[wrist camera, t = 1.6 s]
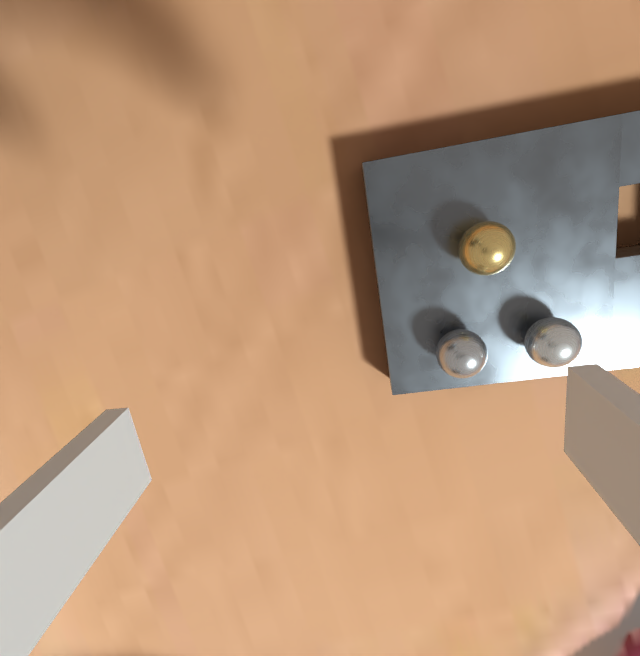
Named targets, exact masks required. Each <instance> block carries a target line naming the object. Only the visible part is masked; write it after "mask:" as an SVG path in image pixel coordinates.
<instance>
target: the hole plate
mask: <svg viewBox="0 0 640 656" xmlns="http://www.w3.org/2000/svg"><path fill="white" fill-rule="evenodd" d="M362 172H363V179H364V187H365V195H366V202H367V210H368V218H369V225H370V233H371V240H372V248H373V256H374V263H375V271H376V279H377V286H378V294H379V302H380V309H381V317H382V325H383V332H384V340H385V347H386V355H387V363H388V370H389V378H390V383H391V389H392V394H393V395H397V394H406V393H415V392H424V391H433V390H441V389H450V388H459V387H468V386H476V385H485V384H494V383H503V382H512V381H520V380H529V379H538V378H547V377H556V376H564V375H567V371H568V367H569V366H580V365H590V364H598V365H599V366H601V367H602V368H604V369H605V370H606V371H608V370H617V369H626V368H635V367H640V245H635V246H629V247H622V248H616V239H617V219H618V199H619V187H620V186H626V185H632V184H638V183H640V111H634V112H629V113H624V114H618V115H613V116H608V117H602V118H597V119H592V120H587V121H581V122H576V123H571V124H565V125H560V126H555V127H549V128H544V129H539V130H534V131H528V132H523V133H518V134H512V135H507V136H502V137H496V138H491V139H486V140H480V141H475V142H470V143H465V144H459V145H454V146H449V147H443V148H438V149H433V150H427V151H422V152H417V153H412V154H406V155H401V156H396V157H390V158H385V159H380V160H374V161H369V162H364V163H362ZM484 221H494V222H498V223H501V224H503V225H504V226H506V227H507V228H508V229H509V230H510V231H511V232H512V234H513V236H514V238H515V242H516V251H515V255H514V257H513V260H512V261H511V263H510V264H509V265H508V266H507V267H506V268H505V269H504V270H502V271H500V272H498V273H496V274H493V275H487V276H484V275H477V274H474V273H472V272H470V271H469V270H467V269H466V268H465V267H464V265H463V264H462V263H461V261H460V258H459V253H458V247H459V242H460V240H461V238H462V236H463V234H464V233H465V232H466V231H467V230H468V229H469V228H470V227H472V226H473V225H475V224H477V223H480V222H484ZM549 317H557V318H562V319H565V320H567V321H569V322H571V323H572V324H573V325H574V326H575V327H576V328H577V329H578V330H579V332H580V334H581V337H582V348H581V351H580V353H579V355H578V356H577V358H576V359H575V360H574V361H573V362H571V363H569V364H568V365H565V366H562V367H555V368H551V367H545V366H542V365H540V364H538V363H536V362H535V361H534V360H532V359H531V358H530V356H529V355H528V353H527V351H526V349H525V344H524V339H525V335H526V333H527V331H528V329H529V328H530V327H531V326H532V325H533V324H534V323H535V322H537V321H539V320H541V319H544V318H549ZM457 329H465V330H469V331H472V332H474V333H476V334H477V335H479V336H480V337H481V338H482V339H483V341H484V343H485V344H486V347H487V352H488V357H487V361H486V364H485V366H484V367H483V369H482V370H481V371H480V372H479V373H478V374H476V375H474V376H472V377H469V378H456V377H453V376H450V375H448V374H447V373H446V372H444V371H443V370H442V369H441V367H440V366H439V364H438V362H437V359H436V348H437V345H438V343H439V341H440V339H441V338H442V337H443V336H444V335H445V334H447V333H448V332H450V331H453V330H457Z"/></svg>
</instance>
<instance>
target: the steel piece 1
mask: <svg viewBox="0 0 640 656" xmlns="http://www.w3.org/2000/svg"><path fill="white" fill-rule="evenodd" d="M487 357H488V352H487V347H486V344H485V343H484V341H483V339H482V338H481V337H480V336H479V335H477V334H476V333H474V332H472V331H469V330H465V329H457V330H453V331H450V332H448V333H447V334H445V335H444V336H443V337H442V338H441V339H440V341H439V343H438V345H437V348H436V359H437V362H438V364H439V366H440V367H441V369H442V370H443V371H444V372H446V373H447V374H448V375H450V376H453V377H456V378H469V377H472V376H474V375H476V374H478V373H479V372H480V371H481V370H482V369H483V367H484V366H485V364H486V361H487Z"/></svg>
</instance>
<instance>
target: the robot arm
mask: <svg viewBox="0 0 640 656" xmlns="http://www.w3.org/2000/svg"><path fill="white" fill-rule="evenodd" d="M564 452H565V453H566V454H567V456H568V457H569V458H570V459H571V461H572V462H573V463H574V464H575V466H576V467H577V468H578V469H579V471H580V472H581V473H582V474H583V476H584V477H585V478H586V479H587V481H588V482H589V483H590V484H591V486H592V487H593V488H594V489H595V491H596V492H597V493H598V494H599V496H600V497H601V498H602V499H603V501H604V502H605V503H606V504H607V506H608V507H609V508H610V509H611V511H612V512H613V513H614V514H615V516H616V517H617V518H618V519H619V521H620V522H621V523H622V524H623V526H624V527H625V528H626V529H627V531H628V532H629V533H630V534H631V536H632V537H633V538H634V539H635V541H636V542H637V543H638V544H639V546H640V394H638V393H637V392H636V391H634V390H633V389H631V388H630V387H629V386H627V385H626V384H625V383H623V382H622V381H620V380H619V379H618V378H616V377H615V376H613V375H612V374H611V373H609V372H608V371H606V370H605V369H604V368H602V367H601V366H599V365H598V364H590V365H580V366H569V367H568V371H567V393H566V415H565V437H564ZM151 480H152V479H151V476H150V473H149V470H148V466H147V463H146V460H145V457H144V454H143V451H142V448H141V445H140V442H139V439H138V436H137V433H136V430H135V426H134V423H133V420H132V417H131V414H130V411H129V408H119V409H109V410H105V411H104V412H103V413H102V414H101V415H100V416H98V417H97V418H96V419H95V420H94V421H93V422H92V423H91V424H89V425H88V426H87V427H86V428H85V429H84V430H83V431H81V432H80V433H79V434H78V435H77V436H76V437H75V438H74V439H72V440H71V441H70V442H69V443H68V444H67V445H66V446H64V447H63V448H62V449H61V450H60V451H59V452H58V453H57V454H55V455H54V456H53V457H52V458H51V459H50V460H49V461H47V462H46V463H45V464H44V465H43V466H42V467H41V468H40V469H38V470H37V471H36V472H35V473H34V474H33V475H32V476H30V477H29V478H28V479H27V480H26V481H25V482H24V483H23V484H21V485H20V486H19V487H18V488H17V489H16V490H15V491H13V492H12V493H11V494H10V495H9V496H8V497H7V498H6V499H4V500H3V501H2V502H1V503H0V656H28V655H29V654H30V653H31V651H32V650H33V648H34V647H35V645H36V644H37V643H38V641H39V640H40V638H41V637H42V635H43V634H44V633H45V631H46V630H47V628H48V627H49V625H50V624H51V623H52V621H53V620H54V618H55V617H56V616H57V614H58V613H59V611H60V610H61V608H62V607H63V606H64V604H65V603H66V601H67V600H68V598H69V597H70V596H71V594H72V593H73V591H74V590H75V588H76V587H77V586H78V584H79V583H80V581H81V580H82V578H83V577H84V576H85V574H86V573H87V571H88V570H89V569H90V567H91V566H92V564H93V563H94V561H95V560H96V559H97V557H98V556H99V554H100V553H101V551H102V550H103V549H104V547H105V546H106V544H107V543H108V541H109V540H110V539H111V537H112V536H113V534H114V533H115V531H116V530H117V529H118V527H119V526H120V524H121V523H122V521H123V520H124V519H125V517H126V516H127V514H128V513H129V512H130V510H131V509H132V507H133V506H134V504H135V503H136V502H137V500H138V499H139V497H140V496H141V494H142V493H143V492H144V490H145V489H146V487H147V486H148V484H149V483H150V482H151Z"/></svg>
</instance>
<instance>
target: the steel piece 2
mask: <svg viewBox="0 0 640 656" xmlns="http://www.w3.org/2000/svg"><path fill="white" fill-rule="evenodd" d="M524 344H525V349H526V351H527V353H528V355H529V356H530V358H531V359H532V360H534V361H535V362H536V363H538V364H540V365H542V366H545V367H551V368H555V367H562V366H565V365H568V364H569V363H571V362H573V361H574V360H575V359H576V358H577V356H578V355H579V353H580V351H581V348H582V337H581V334H580V332H579V330H578V329H577V328H576V327H575V326H574V325H573V324H572V323H571V322H569V321H567V320H565V319H562V318H557V317H549V318H544V319H541V320H539V321H537V322H535V323H534V324H533V325H532V326H531V327H530V328H529V329H528V331H527V333H526V335H525V339H524Z"/></svg>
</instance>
